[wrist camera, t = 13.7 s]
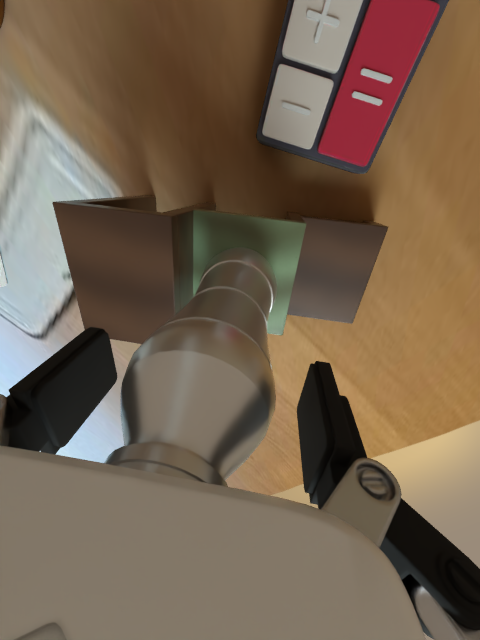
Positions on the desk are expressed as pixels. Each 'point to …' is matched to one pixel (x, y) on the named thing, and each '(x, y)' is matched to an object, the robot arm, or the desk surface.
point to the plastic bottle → (204, 378)
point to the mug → (1, 11)
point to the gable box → (2, 275)
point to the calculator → (343, 76)
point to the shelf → (206, 261)
